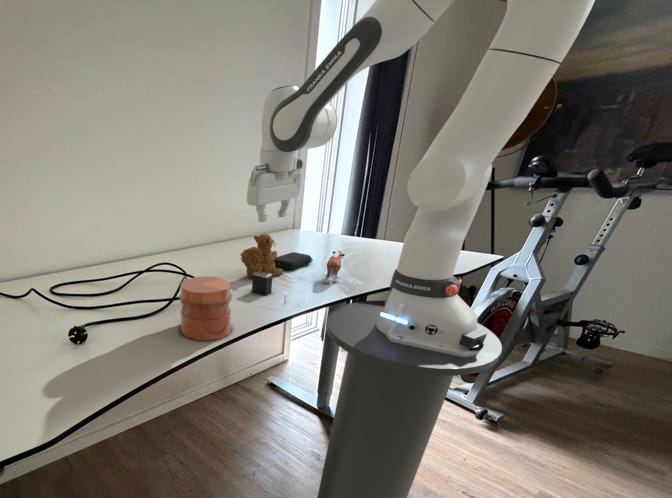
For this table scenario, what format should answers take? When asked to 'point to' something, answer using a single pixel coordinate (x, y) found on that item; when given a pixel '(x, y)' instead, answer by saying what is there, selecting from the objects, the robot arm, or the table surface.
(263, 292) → the black block
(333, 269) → the bull figurine
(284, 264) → the carrying case
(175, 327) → the table surface
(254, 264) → the stuffed squirrel
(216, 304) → the orange short cylinder
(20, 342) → the table surface
